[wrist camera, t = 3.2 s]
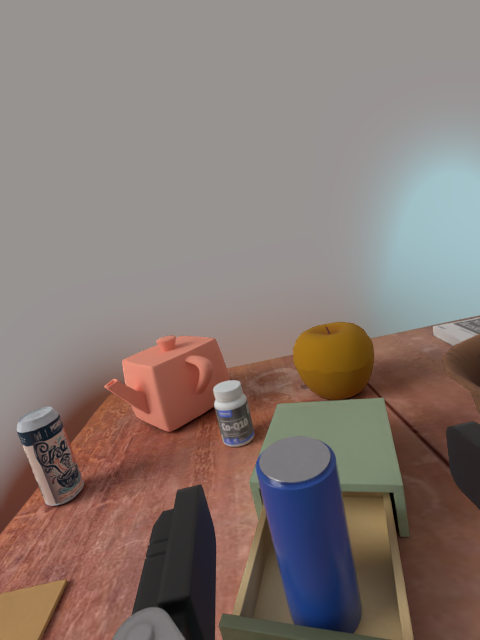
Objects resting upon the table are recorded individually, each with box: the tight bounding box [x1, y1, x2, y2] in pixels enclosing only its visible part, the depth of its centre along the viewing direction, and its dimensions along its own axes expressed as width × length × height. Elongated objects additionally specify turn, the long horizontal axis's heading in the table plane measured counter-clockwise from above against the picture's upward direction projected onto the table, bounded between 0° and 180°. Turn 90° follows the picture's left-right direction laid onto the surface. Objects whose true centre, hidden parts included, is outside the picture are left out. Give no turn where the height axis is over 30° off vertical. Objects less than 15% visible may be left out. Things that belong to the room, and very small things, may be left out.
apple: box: [293, 322, 374, 400], centre depth 56 cm, size 13×13×11 cm
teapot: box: [104, 335, 230, 432], centre depth 60 cm, size 20×22×14 cm
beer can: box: [17, 407, 84, 506], centre depth 44 cm, size 5×5×12 cm
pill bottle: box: [213, 380, 254, 447], centre depth 49 cm, size 5×5×8 cm
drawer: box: [219, 491, 414, 640], centre depth 27 cm, size 16×13×3 cm
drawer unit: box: [249, 398, 410, 537], centre depth 38 cm, size 15×13×5 cm
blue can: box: [256, 436, 362, 634], centre depth 23 cm, size 5×5×12 cm
